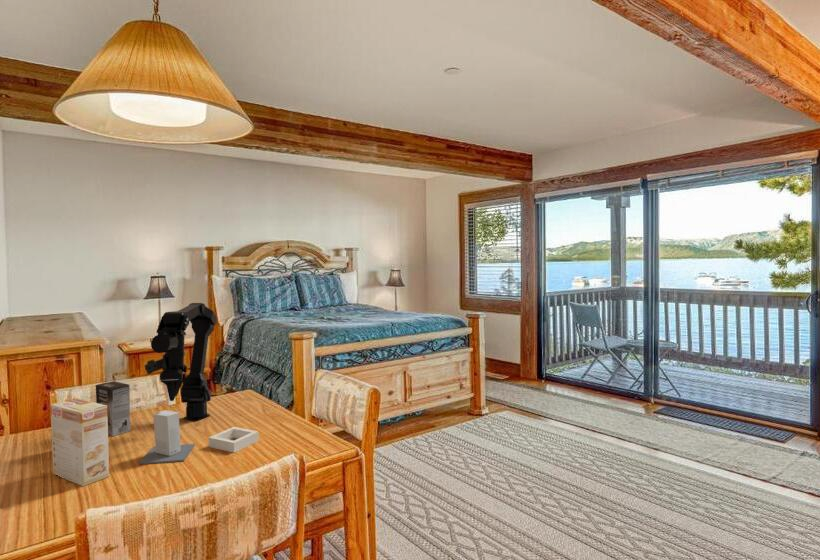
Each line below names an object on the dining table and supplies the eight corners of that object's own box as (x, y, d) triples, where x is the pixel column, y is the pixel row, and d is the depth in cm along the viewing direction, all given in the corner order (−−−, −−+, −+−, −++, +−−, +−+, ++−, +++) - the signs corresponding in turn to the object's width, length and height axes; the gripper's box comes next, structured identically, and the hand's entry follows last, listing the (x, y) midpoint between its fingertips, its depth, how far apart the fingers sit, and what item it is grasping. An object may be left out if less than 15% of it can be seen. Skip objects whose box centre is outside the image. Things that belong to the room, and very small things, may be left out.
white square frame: (234, 435, 160) (233, 426, 160) (258, 440, 155) (258, 431, 155) (208, 447, 150) (208, 437, 150) (234, 452, 146) (234, 443, 146)
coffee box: (96, 432, 163) (94, 384, 162) (115, 426, 169) (113, 380, 168) (112, 437, 159) (110, 388, 158) (131, 430, 164) (130, 383, 164)
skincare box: (181, 451, 146) (180, 411, 145) (168, 457, 142) (167, 416, 141) (166, 448, 148) (165, 409, 148) (153, 453, 144) (152, 413, 143)
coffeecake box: (110, 476, 131) (108, 405, 130) (82, 487, 124) (79, 412, 123) (80, 464, 138) (77, 397, 137) (51, 474, 131) (49, 403, 130)
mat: (153, 448, 150) (153, 446, 150) (194, 445, 152) (194, 443, 152) (138, 464, 138) (138, 462, 138) (183, 461, 140) (183, 459, 140)
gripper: (151, 348, 165) (150, 395, 164) (141, 353, 148) (140, 405, 147) (187, 347, 169) (186, 392, 168) (182, 352, 151) (181, 402, 150)
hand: (173, 398), depth 158 cm, fingers open, 9 cm apart
